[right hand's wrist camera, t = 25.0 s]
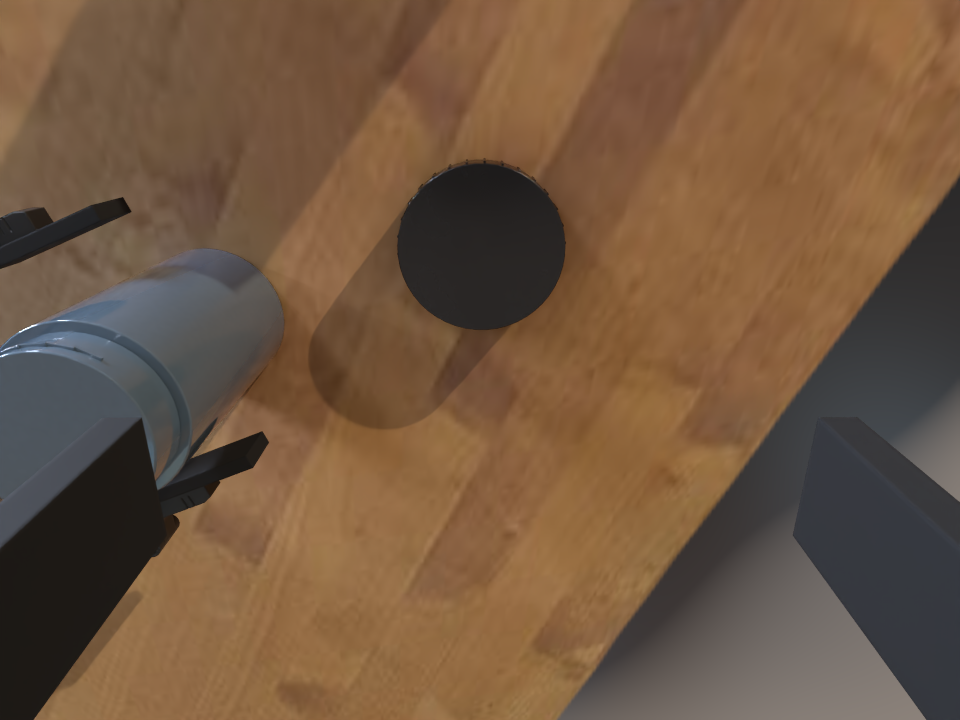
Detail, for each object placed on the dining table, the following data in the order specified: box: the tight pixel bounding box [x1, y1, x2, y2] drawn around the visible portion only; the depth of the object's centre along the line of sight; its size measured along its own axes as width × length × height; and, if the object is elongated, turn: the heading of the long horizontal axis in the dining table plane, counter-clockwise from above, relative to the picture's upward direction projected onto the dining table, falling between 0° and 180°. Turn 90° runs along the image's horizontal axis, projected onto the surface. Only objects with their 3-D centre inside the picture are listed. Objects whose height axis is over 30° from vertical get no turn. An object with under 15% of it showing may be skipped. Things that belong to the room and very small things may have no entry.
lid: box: [397, 158, 566, 330], centre depth 36 cm, size 9×9×2 cm
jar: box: [0, 249, 284, 500], centre depth 31 cm, size 8×8×16 cm
